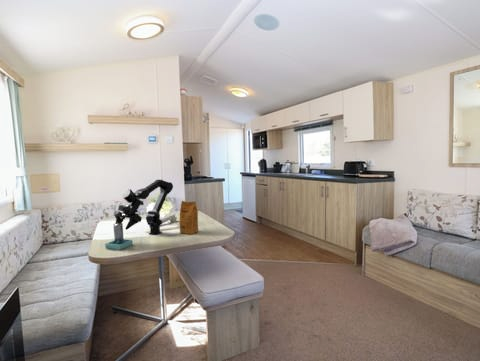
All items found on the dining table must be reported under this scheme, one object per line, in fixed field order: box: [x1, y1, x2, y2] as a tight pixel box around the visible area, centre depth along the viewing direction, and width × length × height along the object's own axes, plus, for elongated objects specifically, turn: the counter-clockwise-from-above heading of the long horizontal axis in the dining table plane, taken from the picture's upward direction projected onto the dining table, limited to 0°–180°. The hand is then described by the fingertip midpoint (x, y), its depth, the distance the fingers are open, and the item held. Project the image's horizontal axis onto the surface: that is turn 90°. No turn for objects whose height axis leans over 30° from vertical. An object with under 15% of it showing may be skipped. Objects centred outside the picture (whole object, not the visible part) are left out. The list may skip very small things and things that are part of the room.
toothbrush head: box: [148, 213, 178, 228], centre depth 222 cm, size 5×7×25 cm
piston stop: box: [112, 222, 125, 245], centre depth 168 cm, size 5×5×13 cm
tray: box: [104, 238, 134, 251], centre depth 169 cm, size 11×11×3 cm
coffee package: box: [179, 200, 199, 235], centre depth 195 cm, size 10×12×22 cm
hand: (120, 228), depth 169 cm, fingers open, 9 cm apart
